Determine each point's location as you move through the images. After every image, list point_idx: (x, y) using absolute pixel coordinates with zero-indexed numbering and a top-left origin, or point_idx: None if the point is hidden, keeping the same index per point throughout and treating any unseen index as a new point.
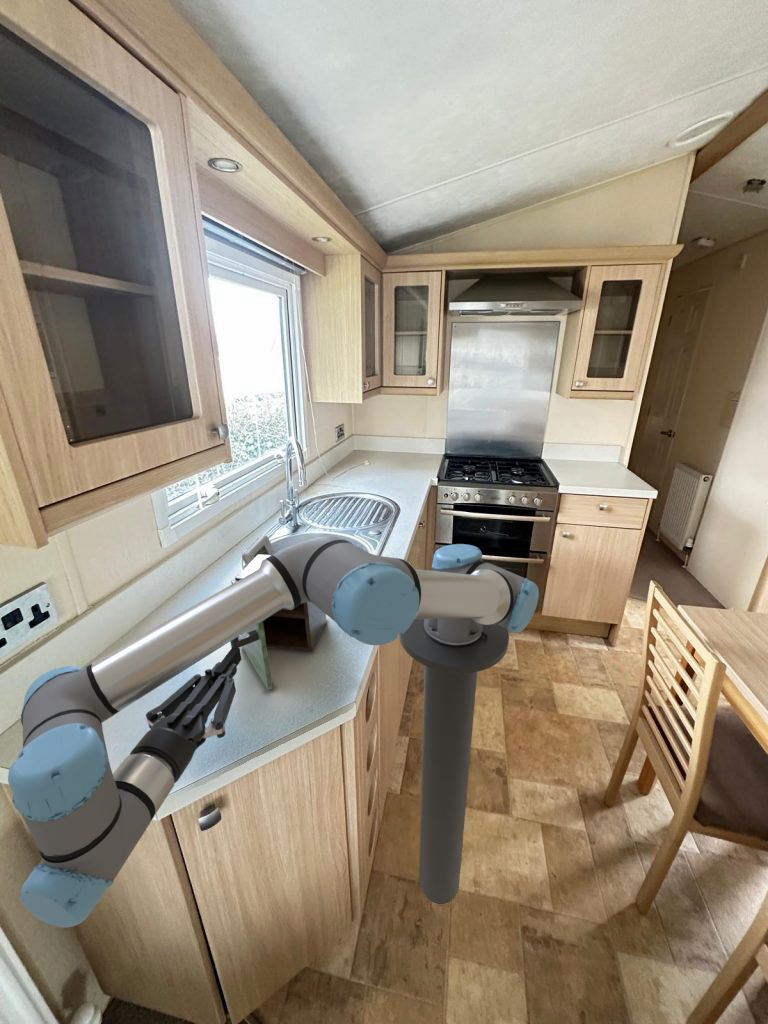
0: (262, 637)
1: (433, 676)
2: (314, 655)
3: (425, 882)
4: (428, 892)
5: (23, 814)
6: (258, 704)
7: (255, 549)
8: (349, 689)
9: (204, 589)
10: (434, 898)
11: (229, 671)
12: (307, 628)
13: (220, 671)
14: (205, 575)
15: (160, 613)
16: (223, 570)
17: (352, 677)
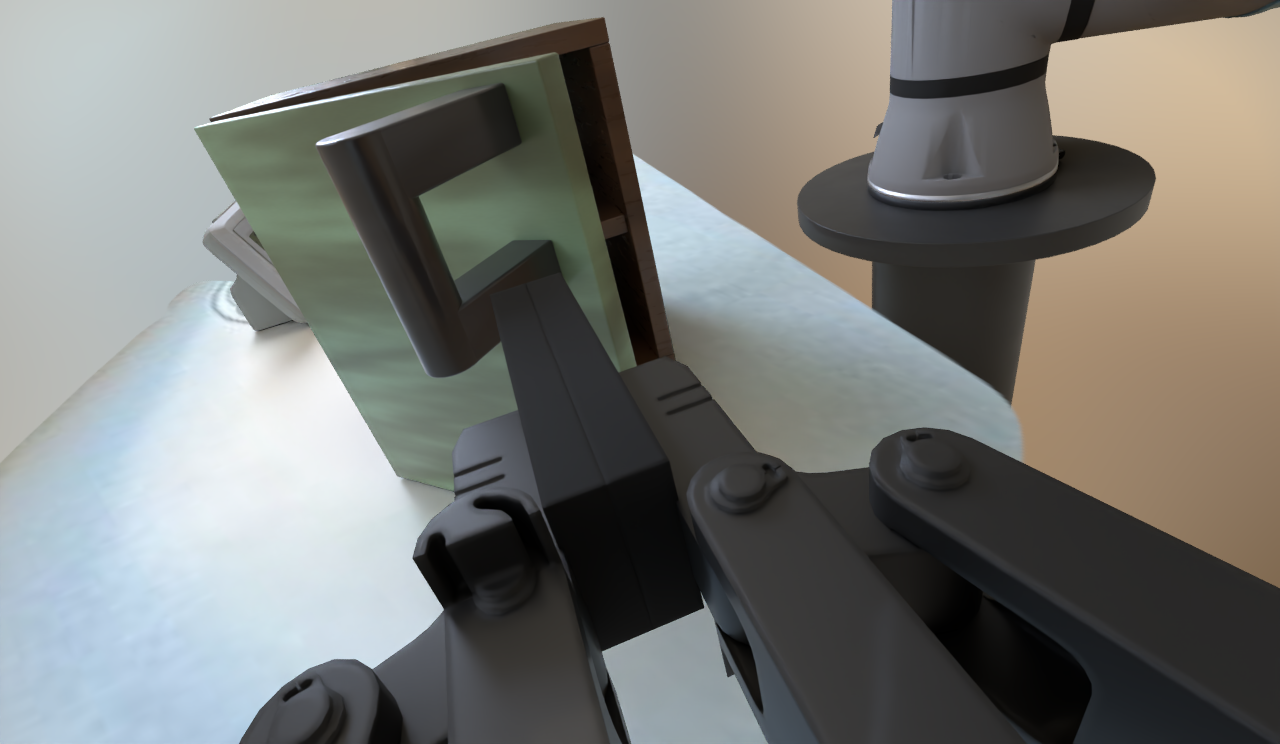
0: (597, 246)
1: (949, 327)
2: (698, 370)
3: None
4: None
5: None
6: (693, 631)
7: (244, 219)
8: (962, 384)
9: (114, 409)
10: None
11: (700, 426)
12: (647, 271)
13: (634, 456)
14: (99, 381)
15: None
16: (162, 348)
17: (912, 355)
